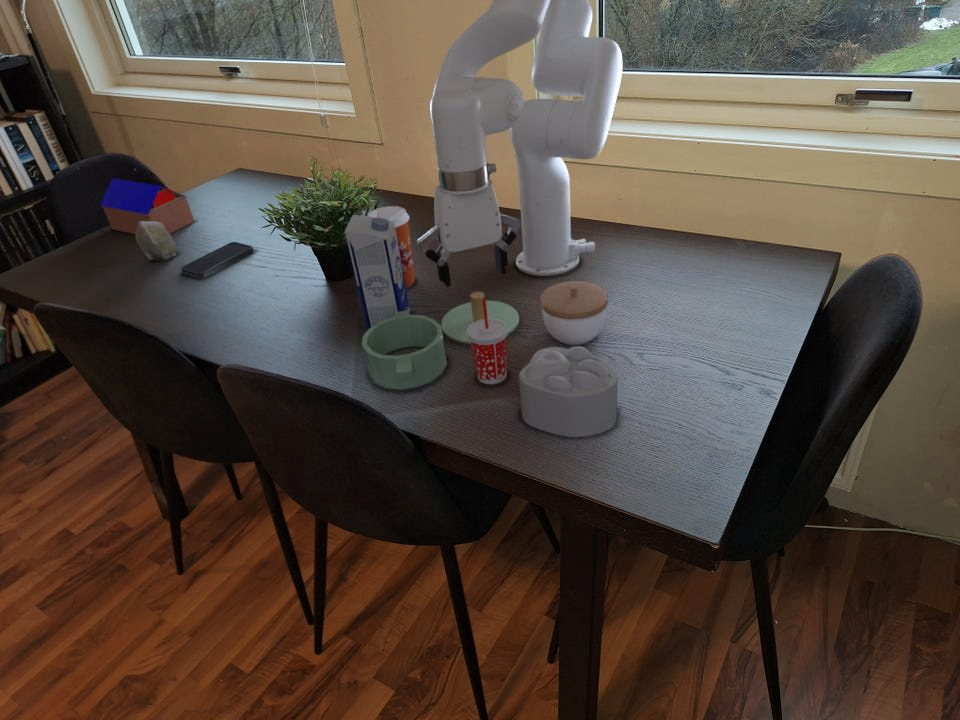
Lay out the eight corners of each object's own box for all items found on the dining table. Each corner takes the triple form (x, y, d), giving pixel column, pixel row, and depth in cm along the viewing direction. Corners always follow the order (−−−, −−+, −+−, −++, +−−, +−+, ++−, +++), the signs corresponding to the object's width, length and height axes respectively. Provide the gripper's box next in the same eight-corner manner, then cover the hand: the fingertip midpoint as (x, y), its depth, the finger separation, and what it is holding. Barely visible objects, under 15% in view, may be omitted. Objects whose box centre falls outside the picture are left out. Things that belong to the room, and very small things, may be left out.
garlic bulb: (167, 272, 153) (147, 242, 144) (136, 265, 154) (115, 234, 146) (189, 245, 158) (172, 213, 149) (160, 237, 159) (141, 206, 151)
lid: (512, 301, 121) (510, 271, 118) (525, 340, 110) (523, 309, 107) (439, 311, 121) (435, 282, 118) (444, 352, 110) (439, 320, 106)
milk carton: (375, 314, 122) (352, 213, 111) (410, 312, 122) (392, 209, 110) (368, 335, 116) (344, 230, 105) (405, 332, 116) (385, 227, 105)
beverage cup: (503, 362, 105) (496, 285, 98) (517, 383, 101) (511, 304, 93) (467, 372, 104) (457, 295, 96) (479, 394, 99) (470, 314, 91)
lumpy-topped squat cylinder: (544, 381, 100) (542, 333, 95) (627, 401, 94) (629, 351, 90) (514, 422, 93) (510, 373, 88) (601, 447, 87) (602, 395, 82)
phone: (254, 246, 151) (200, 274, 141) (255, 251, 152) (201, 279, 142) (232, 241, 155) (178, 268, 145) (234, 245, 156) (180, 272, 146)
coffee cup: (413, 294, 127) (400, 222, 119) (373, 293, 129) (358, 222, 121) (425, 274, 134) (413, 204, 125) (387, 273, 136) (373, 204, 127)
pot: (443, 333, 114) (438, 302, 111) (451, 395, 100) (445, 361, 96) (371, 343, 114) (364, 312, 110) (368, 407, 99) (360, 374, 96)
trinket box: (591, 361, 103) (591, 310, 98) (531, 346, 109) (528, 296, 103) (617, 328, 111) (618, 278, 105) (560, 315, 116) (558, 267, 110)
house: (157, 239, 164) (139, 194, 157) (110, 229, 173) (91, 186, 167) (196, 221, 172) (180, 177, 165) (149, 212, 181) (132, 170, 175)
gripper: (507, 160, 105) (514, 257, 115) (403, 180, 102) (418, 279, 111) (525, 173, 99) (530, 274, 109) (414, 195, 95) (430, 298, 105)
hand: (474, 277), depth 110 cm, fingers open, 9 cm apart
